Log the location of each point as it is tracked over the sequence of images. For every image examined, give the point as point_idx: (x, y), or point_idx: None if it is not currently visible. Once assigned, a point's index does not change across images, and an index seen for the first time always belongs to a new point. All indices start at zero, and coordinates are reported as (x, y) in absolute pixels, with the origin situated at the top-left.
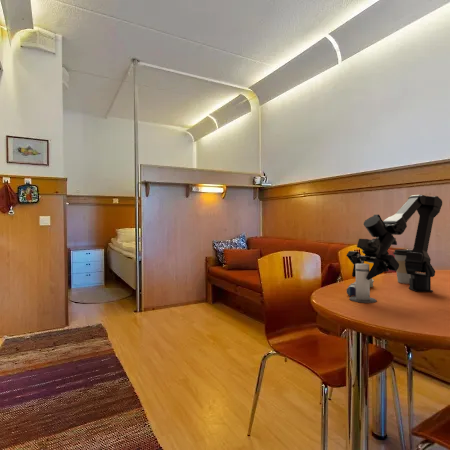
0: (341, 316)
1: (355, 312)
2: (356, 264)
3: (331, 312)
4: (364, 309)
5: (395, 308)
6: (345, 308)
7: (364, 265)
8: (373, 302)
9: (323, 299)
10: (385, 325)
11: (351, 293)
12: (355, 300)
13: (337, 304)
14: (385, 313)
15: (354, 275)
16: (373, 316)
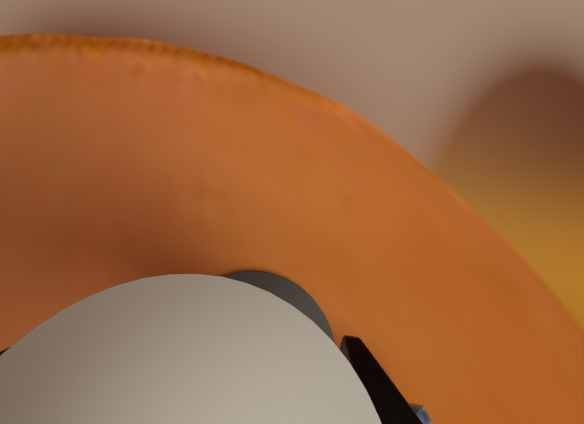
0: (167, 45)
1: (152, 112)
2: (267, 293)
3: (219, 56)
4: (142, 176)
5: (6, 331)
6: (214, 129)
7: (21, 355)
8: None
9: (384, 179)
10: (3, 63)
11: None
12: (257, 281)
13: (278, 155)
14: (36, 191)
15: None
16: (71, 117)
